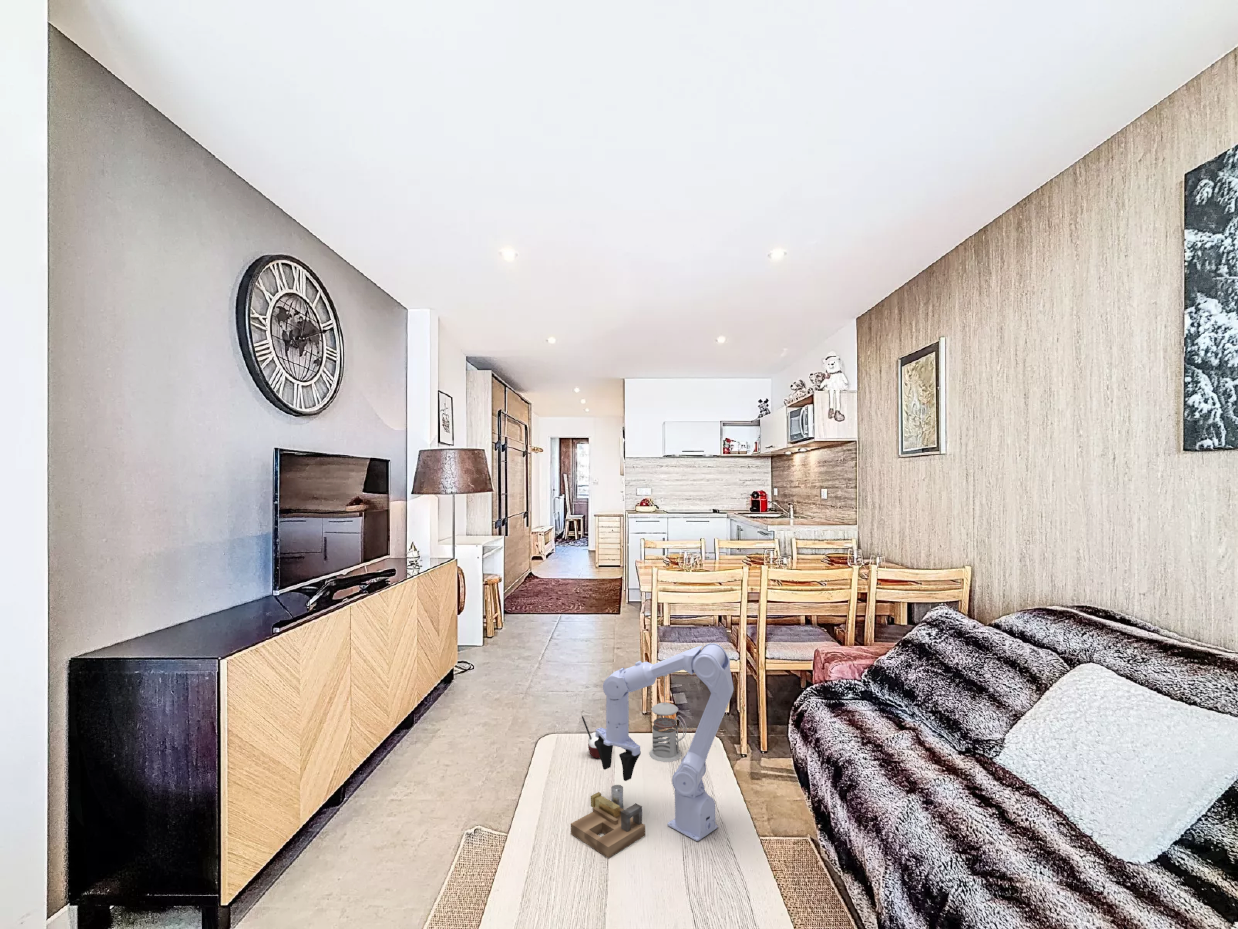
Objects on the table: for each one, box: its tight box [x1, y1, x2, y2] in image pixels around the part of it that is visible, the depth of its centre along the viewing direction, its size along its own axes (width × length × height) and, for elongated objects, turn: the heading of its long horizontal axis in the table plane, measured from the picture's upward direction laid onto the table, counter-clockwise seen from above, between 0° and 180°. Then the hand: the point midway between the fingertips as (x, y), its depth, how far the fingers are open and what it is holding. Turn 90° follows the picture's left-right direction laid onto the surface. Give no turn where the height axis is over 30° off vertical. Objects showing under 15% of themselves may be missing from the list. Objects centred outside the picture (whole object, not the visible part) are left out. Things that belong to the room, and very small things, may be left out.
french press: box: [648, 674, 687, 763], centre depth 188 cm, size 10×12×25 cm
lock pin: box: [590, 791, 620, 818], centre depth 154 cm, size 8×3×3 cm, turn 44°
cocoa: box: [581, 716, 601, 759], centre depth 189 cm, size 10×6×12 cm, turn 82°
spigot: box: [610, 784, 624, 809], centre depth 158 cm, size 3×3×6 cm
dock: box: [570, 803, 646, 859], centre depth 148 cm, size 13×12×6 cm
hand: (617, 773), depth 158 cm, fingers open, 7 cm apart
